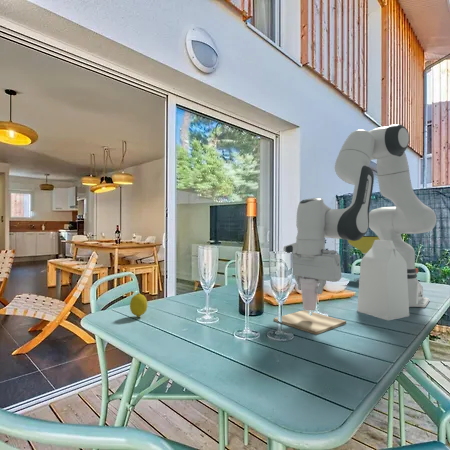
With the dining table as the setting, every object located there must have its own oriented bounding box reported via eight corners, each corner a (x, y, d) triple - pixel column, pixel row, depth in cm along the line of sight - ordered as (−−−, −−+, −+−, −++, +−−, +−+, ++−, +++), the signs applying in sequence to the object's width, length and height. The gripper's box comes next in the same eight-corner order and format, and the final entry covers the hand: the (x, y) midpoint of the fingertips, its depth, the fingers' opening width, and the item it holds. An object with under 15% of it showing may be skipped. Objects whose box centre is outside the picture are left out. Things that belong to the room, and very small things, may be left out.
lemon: (142, 320, 99) (142, 295, 99) (126, 319, 100) (126, 294, 100) (150, 315, 104) (150, 291, 104) (135, 314, 105) (135, 290, 105)
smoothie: (305, 312, 94) (306, 266, 94) (295, 306, 101) (295, 264, 100) (323, 310, 96) (324, 266, 96) (312, 305, 102) (313, 263, 102)
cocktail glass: (376, 284, 161) (376, 237, 161) (342, 280, 174) (342, 236, 174) (386, 280, 175) (387, 236, 174) (354, 276, 187) (354, 235, 187)
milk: (357, 311, 112) (357, 239, 112) (378, 307, 117) (378, 239, 117) (387, 320, 101) (388, 241, 101) (409, 316, 106) (410, 240, 106)
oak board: (304, 312, 110) (304, 309, 110) (346, 323, 97) (346, 321, 97) (273, 320, 100) (273, 318, 100) (316, 334, 87) (316, 331, 87)
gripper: (345, 250, 92) (345, 296, 92) (291, 246, 108) (291, 285, 108) (334, 251, 88) (333, 299, 88) (279, 246, 104) (279, 287, 104)
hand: (309, 291), depth 98 cm, fingers closed on smoothie, 5 cm apart
